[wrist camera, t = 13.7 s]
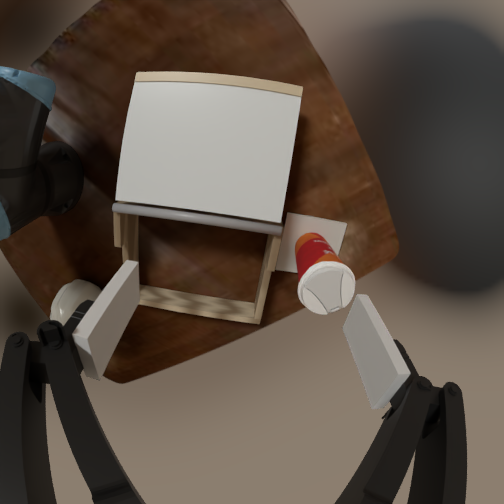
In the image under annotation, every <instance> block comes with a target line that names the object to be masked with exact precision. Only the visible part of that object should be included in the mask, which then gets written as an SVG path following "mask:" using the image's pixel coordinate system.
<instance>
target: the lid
mask: <svg viewBox="0 0 504 504" xmlns="http://www.w3.org/2000/svg"><path fill="white" fill-rule="evenodd" d="M302 91H303V87H301V86H296V85H291V84H286V83H281V82H275V81H270V80H263V79H257V78H250V77H242V76H233V75H224V74H212V73H196V72H137V73H136V77H135V83H134V87H133V92H132V96H131V100H130V105H129V110H128V115H127V120H126V125H125V130H124V136H123V142H122V149H121V155H120V163H119V171H118V179H117V189H116V200H119V201H128V202H137V203H145V204H153V205H161V206H169V207H177V208H185V209H192V210H199V211H206V212H213V213H220V214H227V215H234V216H241V217H247V218H254V219H260V220H266V221H272V222H279V223H281V218H282V213H283V207H284V201H285V195H286V190H287V184H288V178H289V172H290V166H291V160H292V154H293V148H294V141H295V135H296V129H297V122H298V116H299V109H300V103H301V97H302ZM112 211H113V212H117V213H125V214H133V215H141V216H148V217H156V218H163V219H170V220H178V221H185V222H192V223H199V224H206V225H213V226H219V227H226V228H233V229H240V230H246V231H253V232H259V233H265V234H272V235H278V236H281V232H282V226H277V225H271V224H265V223H259V222H252V221H246V220H239V219H232V218H226V217H219V216H212V215H205V214H198V213H191V212H183V211H176V210H168V209H160V208H153V207H145V206H136V205H128V204H119V203H114V204H113V206H112Z"/></svg>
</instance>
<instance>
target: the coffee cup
mask: <svg viewBox="0 0 504 504" xmlns="http://www.w3.org/2000/svg"><path fill="white" fill-rule="evenodd" d="M295 258H296V265H297V272H298V279H299V285H298V296H299V299H300V301H301V302H302V304H303V305H304V306H305V307H307V308H308V309H309V310H311V311H312V312H314V313H317V314H323V315H327V314H328V313H330V312H331V313H333V312H335V311H338V310H339V309H341V308H342V307H343V308H344V307H346V306H347V305H348V303H349V302H350V301H351V299H352V296H353V294H354V289H355V277H354V275H353V273H352V271H351V270H350V269H349V268H348V267H347V266H346V265H344V264H343V263H342V261H341V260H340V258H339V257H338V256H337V254H336V253H335V251H334V250H333V249H332V247H331V246H330V245H329V243H328V242H327V241H326V240H325V239H324V237H322V236H321V235H320V234H318V233H313V232H311V233H306V234H304V235H302V236H301V237H300V238H299V239H298V240H297V242H296V244H295Z"/></svg>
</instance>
